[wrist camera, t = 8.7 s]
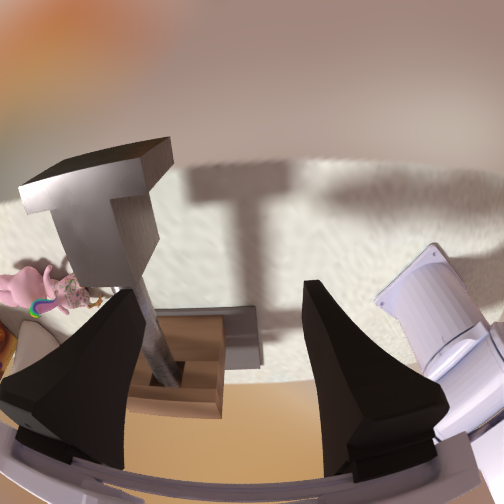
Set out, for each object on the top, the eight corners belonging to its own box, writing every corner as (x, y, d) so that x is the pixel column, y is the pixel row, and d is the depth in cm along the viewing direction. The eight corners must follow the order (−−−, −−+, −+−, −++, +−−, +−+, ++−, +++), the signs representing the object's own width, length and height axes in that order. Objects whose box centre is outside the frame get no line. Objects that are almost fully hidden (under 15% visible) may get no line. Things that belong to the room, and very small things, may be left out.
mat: (260, 365, 31) (260, 368, 31) (144, 365, 31) (143, 367, 31) (255, 306, 26) (255, 309, 25) (115, 309, 26) (114, 311, 26)
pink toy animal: (97, 250, 24) (-11, 254, 21) (79, 291, 19) (-36, 287, 16) (110, 300, 28) (7, 297, 25) (99, 343, 23) (-11, 332, 20)
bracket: (226, 335, 27) (221, 418, 20) (150, 336, 28) (129, 411, 20) (222, 314, 26) (215, 402, 18) (141, 315, 26) (115, 394, 18)
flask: (45, 356, 32) (21, 408, 24) (14, 322, 29) (-17, 375, 20) (71, 352, 31) (46, 413, 23) (36, 314, 27) (2, 375, 19)
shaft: (216, 360, 23) (212, 405, 19) (141, 358, 23) (129, 399, 20) (169, 136, 14) (140, 157, 10) (64, 159, 14) (18, 187, 10)
